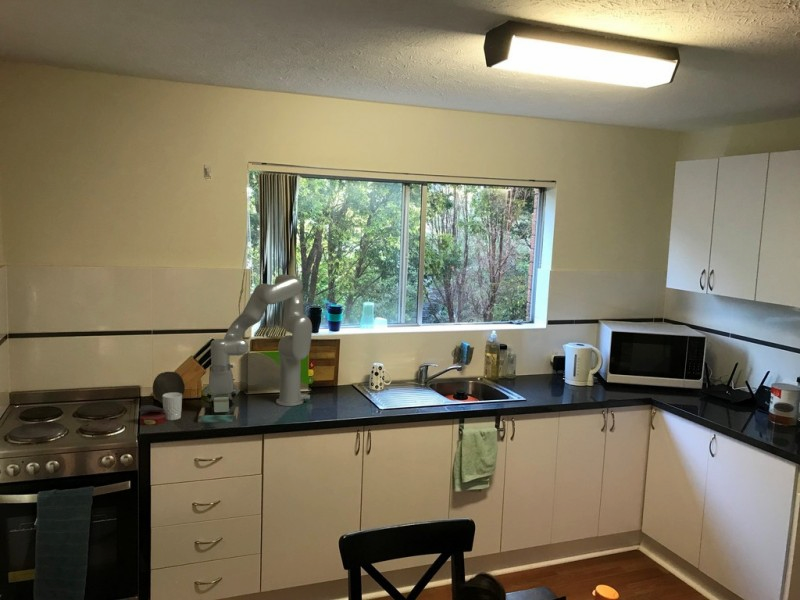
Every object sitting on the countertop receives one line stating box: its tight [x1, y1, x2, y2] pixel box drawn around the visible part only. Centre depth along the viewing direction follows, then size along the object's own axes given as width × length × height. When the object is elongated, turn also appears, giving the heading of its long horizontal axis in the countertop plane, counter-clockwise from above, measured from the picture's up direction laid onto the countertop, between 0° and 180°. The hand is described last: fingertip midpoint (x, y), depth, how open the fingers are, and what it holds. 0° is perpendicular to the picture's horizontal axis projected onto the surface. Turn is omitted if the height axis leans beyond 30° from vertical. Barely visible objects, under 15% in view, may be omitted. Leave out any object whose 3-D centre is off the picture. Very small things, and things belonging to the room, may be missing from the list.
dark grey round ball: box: [152, 371, 186, 405], centre depth 290 cm, size 14×14×15 cm
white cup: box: [162, 392, 183, 421], centre depth 272 cm, size 8×8×10 cm
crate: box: [213, 394, 230, 413], centre depth 280 cm, size 6×6×6 cm
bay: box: [197, 406, 239, 423], centre depth 275 cm, size 15×13×2 cm
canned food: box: [138, 404, 166, 427], centre depth 266 cm, size 11×10×10 cm
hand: (222, 407), depth 280 cm, fingers closed on crate, 6 cm apart
